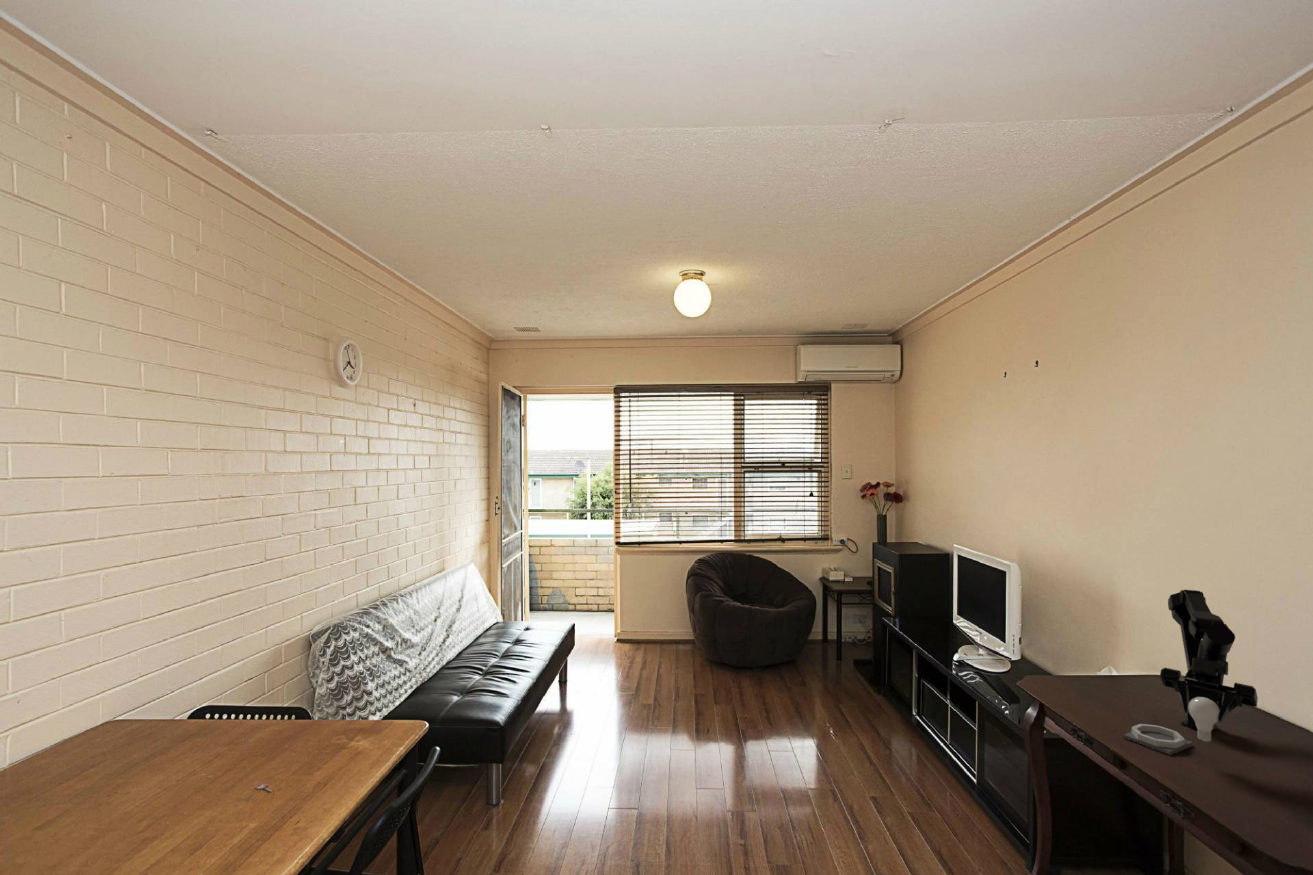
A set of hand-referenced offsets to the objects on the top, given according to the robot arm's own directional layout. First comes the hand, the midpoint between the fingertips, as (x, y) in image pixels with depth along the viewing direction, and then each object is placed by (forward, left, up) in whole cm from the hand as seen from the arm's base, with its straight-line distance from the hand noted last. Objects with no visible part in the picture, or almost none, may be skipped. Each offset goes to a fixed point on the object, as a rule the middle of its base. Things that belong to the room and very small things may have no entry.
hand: (1202, 716), depth 165 cm
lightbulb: (-1, 0, -7) cm, 7 cm away
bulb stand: (-4, -12, -12) cm, 17 cm away
